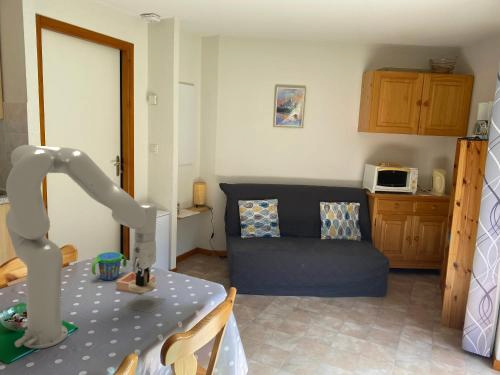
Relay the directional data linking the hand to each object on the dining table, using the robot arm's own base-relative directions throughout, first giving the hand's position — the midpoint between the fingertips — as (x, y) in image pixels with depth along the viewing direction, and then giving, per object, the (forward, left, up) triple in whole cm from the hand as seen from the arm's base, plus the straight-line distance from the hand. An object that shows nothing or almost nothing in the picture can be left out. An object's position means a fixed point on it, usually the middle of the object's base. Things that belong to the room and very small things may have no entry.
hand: (142, 283), depth 143 cm
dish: (+13, +10, -9) cm, 19 cm away
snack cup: (+18, +26, -9) cm, 33 cm away
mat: (+1, -1, -9) cm, 9 cm away
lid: (0, 0, -1) cm, 1 cm away
